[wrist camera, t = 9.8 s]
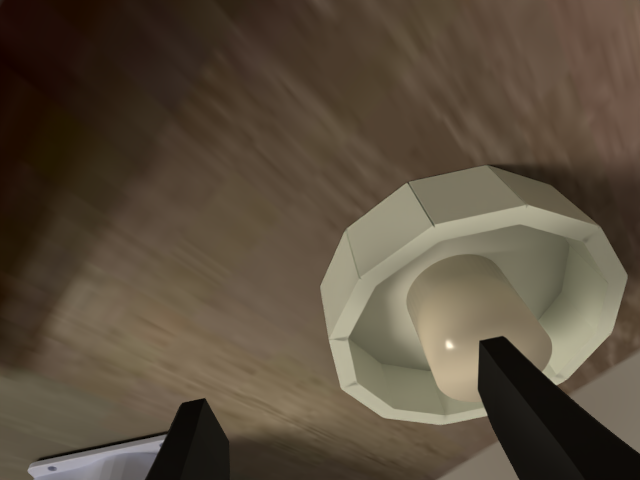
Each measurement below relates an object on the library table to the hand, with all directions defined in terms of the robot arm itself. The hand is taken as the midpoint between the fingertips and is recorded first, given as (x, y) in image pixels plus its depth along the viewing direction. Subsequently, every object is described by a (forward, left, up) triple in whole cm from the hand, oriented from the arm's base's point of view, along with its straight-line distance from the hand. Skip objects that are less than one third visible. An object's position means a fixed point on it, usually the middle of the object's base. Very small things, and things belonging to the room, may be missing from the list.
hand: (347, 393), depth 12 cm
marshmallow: (+6, -6, -9) cm, 12 cm away
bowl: (+6, -6, -9) cm, 13 cm away
